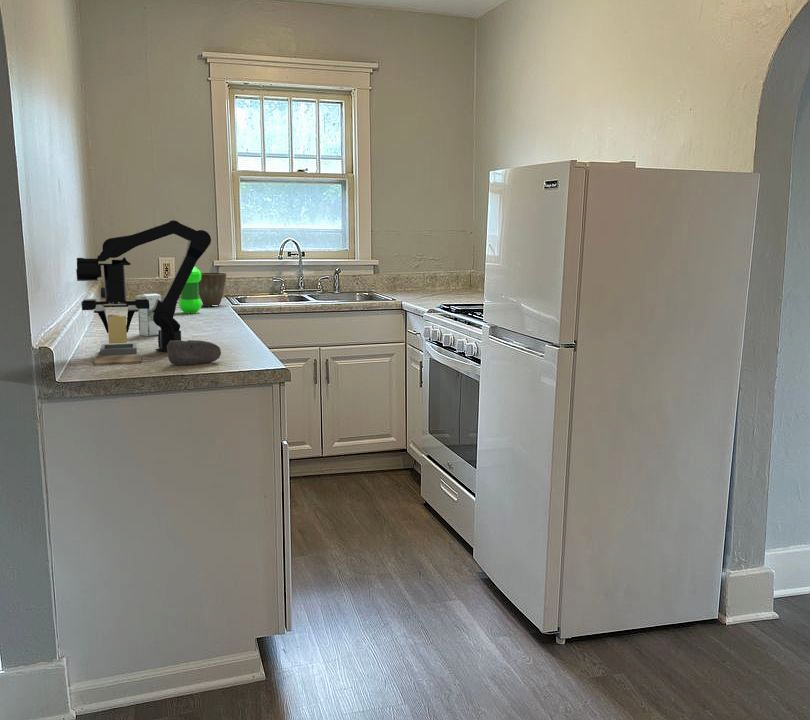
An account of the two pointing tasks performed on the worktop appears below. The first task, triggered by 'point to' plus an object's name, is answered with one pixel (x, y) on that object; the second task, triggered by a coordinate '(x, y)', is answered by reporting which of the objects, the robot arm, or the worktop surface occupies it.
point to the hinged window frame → (118, 349)
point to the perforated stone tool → (192, 352)
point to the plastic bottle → (191, 293)
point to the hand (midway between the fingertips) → (117, 332)
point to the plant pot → (211, 288)
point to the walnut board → (117, 359)
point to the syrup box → (148, 316)
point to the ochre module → (117, 329)
